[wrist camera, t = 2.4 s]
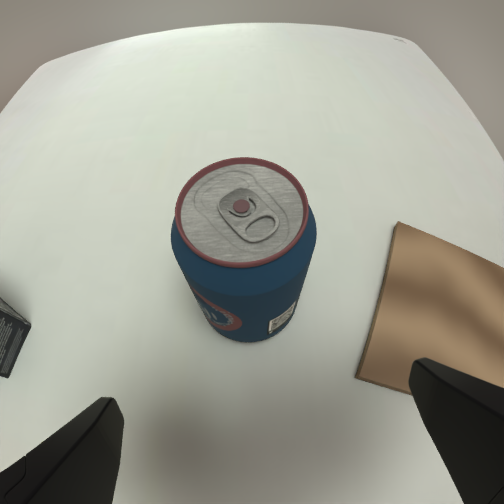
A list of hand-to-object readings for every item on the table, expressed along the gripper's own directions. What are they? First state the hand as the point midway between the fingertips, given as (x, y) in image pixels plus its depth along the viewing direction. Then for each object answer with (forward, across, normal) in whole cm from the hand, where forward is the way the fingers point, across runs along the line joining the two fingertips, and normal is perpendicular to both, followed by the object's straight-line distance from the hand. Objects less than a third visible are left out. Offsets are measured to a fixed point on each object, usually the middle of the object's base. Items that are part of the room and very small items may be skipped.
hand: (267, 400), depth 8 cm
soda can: (+15, 0, +4) cm, 16 cm away
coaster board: (+12, -16, +7) cm, 22 cm away
